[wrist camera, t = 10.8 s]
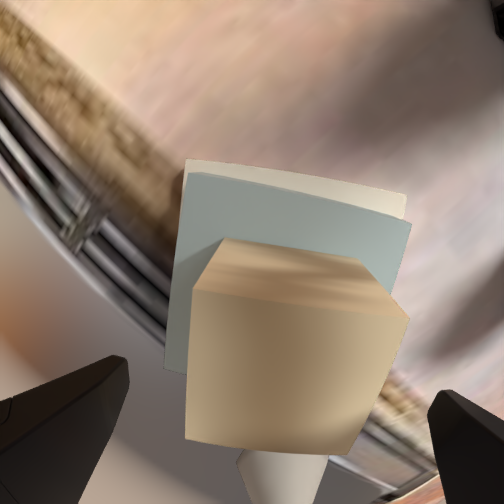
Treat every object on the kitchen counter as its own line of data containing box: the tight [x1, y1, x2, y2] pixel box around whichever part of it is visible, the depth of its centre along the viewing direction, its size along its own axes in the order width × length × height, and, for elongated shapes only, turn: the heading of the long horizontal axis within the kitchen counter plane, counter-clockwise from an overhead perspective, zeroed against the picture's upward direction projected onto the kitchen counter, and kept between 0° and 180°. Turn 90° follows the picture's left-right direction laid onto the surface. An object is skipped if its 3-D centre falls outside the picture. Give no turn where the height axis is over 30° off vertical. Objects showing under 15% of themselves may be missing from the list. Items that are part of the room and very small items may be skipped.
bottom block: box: [178, 159, 407, 230], centre depth 17 cm, size 11×11×2 cm
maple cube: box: [185, 237, 410, 455], centre depth 11 cm, size 6×6×6 cm
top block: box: [164, 172, 412, 375], centre depth 14 cm, size 10×10×2 cm
